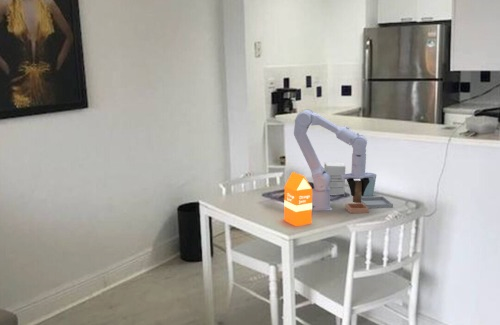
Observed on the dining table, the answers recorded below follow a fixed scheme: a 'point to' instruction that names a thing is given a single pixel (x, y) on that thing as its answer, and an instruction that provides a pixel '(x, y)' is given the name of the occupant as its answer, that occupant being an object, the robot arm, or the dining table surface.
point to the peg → (357, 191)
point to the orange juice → (298, 200)
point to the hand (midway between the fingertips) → (357, 195)
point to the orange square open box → (357, 208)
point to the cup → (370, 187)
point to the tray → (376, 202)
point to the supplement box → (335, 177)
